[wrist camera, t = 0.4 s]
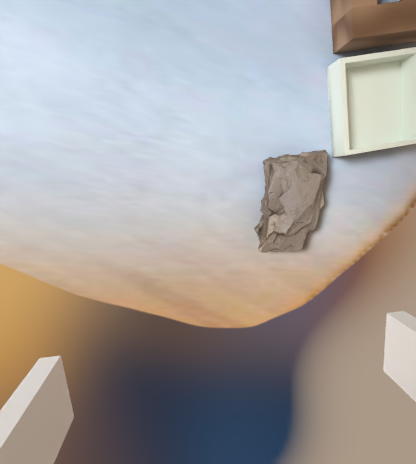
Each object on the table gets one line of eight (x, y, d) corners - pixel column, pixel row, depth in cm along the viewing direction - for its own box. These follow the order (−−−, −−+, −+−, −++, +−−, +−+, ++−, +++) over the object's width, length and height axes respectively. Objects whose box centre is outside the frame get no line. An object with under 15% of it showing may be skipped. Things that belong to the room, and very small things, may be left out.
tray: (326, 67, 35) (339, 58, 32) (401, 56, 36) (420, 46, 33) (332, 156, 38) (345, 155, 35) (402, 145, 38) (420, 142, 35)
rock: (313, 248, 41) (327, 256, 37) (251, 246, 40) (258, 254, 36) (326, 151, 38) (342, 148, 34) (260, 146, 37) (269, 143, 33)
